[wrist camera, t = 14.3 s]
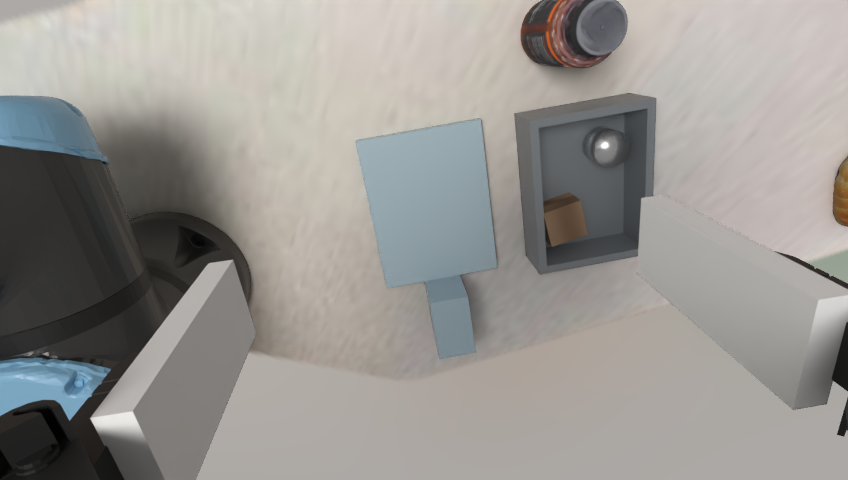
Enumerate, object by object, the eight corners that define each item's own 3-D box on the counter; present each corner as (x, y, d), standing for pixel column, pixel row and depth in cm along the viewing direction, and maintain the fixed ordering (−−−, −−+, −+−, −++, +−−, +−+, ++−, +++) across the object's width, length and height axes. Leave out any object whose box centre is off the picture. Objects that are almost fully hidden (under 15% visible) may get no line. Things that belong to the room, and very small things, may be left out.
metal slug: (582, 163, 50) (595, 170, 47) (581, 129, 49) (594, 134, 46) (616, 157, 50) (630, 163, 47) (615, 123, 49) (630, 127, 46)
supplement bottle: (556, 76, 47) (609, 85, 37) (507, 45, 45) (547, 45, 35) (591, 18, 45) (657, 10, 35) (541, -16, 44) (594, -35, 33)
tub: (525, 254, 54) (540, 274, 50) (514, 113, 48) (529, 120, 43) (627, 235, 55) (650, 253, 50) (629, 93, 48) (656, 98, 44)
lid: (397, 335, 57) (400, 366, 51) (355, 139, 47) (353, 152, 42) (500, 315, 57) (514, 344, 51) (478, 117, 48) (492, 127, 42)
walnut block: (542, 236, 53) (551, 247, 50) (534, 204, 51) (543, 213, 48) (576, 224, 53) (587, 234, 50) (569, 192, 51) (580, 200, 48)
